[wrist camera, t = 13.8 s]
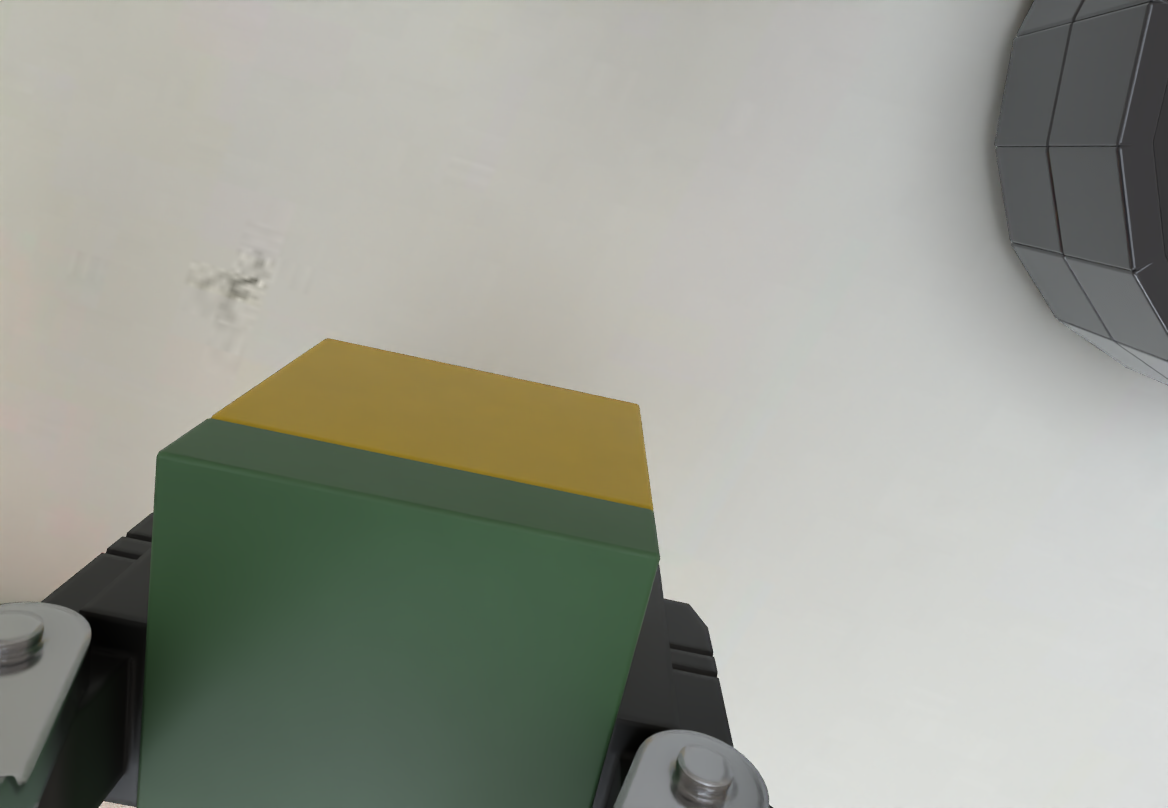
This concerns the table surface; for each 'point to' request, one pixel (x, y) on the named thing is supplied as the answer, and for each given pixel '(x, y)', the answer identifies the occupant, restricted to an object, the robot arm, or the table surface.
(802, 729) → the table surface
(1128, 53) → the wash bowl
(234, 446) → the sponge
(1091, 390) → the table surface
